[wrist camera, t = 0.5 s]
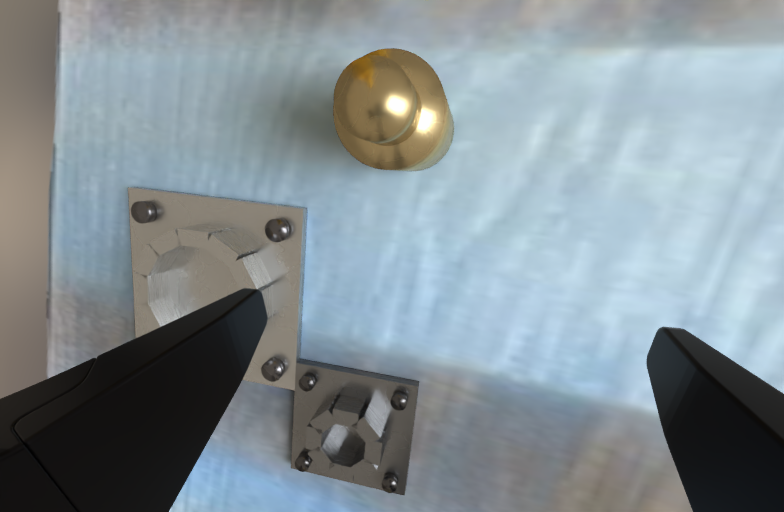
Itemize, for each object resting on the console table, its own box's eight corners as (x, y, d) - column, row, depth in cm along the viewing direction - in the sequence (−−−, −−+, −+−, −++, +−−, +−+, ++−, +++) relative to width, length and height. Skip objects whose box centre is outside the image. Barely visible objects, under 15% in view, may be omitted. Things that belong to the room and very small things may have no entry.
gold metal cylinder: (448, 174, 22) (432, 175, 13) (371, 167, 23) (304, 162, 14) (458, 90, 21) (449, 26, 12) (378, 85, 22) (311, 21, 13)
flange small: (405, 488, 27) (400, 515, 24) (294, 461, 28) (280, 485, 26) (419, 381, 25) (414, 400, 23) (299, 358, 26) (284, 374, 24)
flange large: (298, 385, 27) (281, 405, 24) (143, 354, 29) (114, 369, 26) (307, 208, 24) (289, 211, 22) (135, 187, 26) (103, 188, 24)
